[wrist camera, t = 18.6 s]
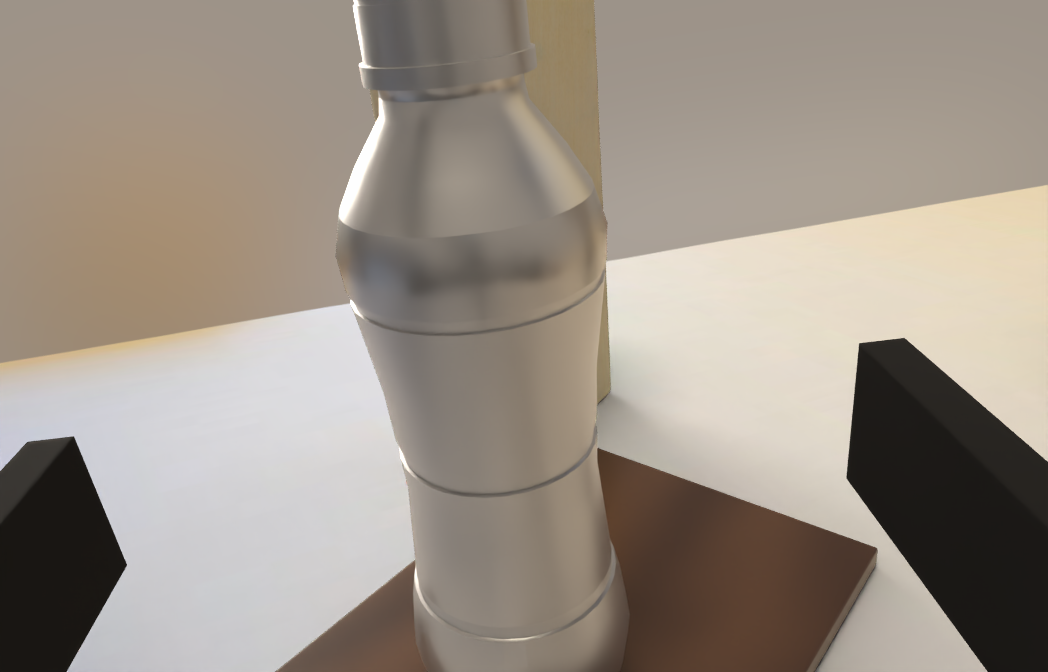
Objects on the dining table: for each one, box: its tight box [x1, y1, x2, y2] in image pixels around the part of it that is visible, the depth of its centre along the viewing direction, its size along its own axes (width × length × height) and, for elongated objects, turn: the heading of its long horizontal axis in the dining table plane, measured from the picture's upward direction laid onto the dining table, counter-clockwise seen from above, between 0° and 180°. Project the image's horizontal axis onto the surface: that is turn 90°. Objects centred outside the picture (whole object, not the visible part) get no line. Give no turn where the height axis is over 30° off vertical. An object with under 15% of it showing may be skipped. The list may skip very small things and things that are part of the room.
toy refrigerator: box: [370, 0, 611, 404], centre depth 37 cm, size 8×7×21 cm
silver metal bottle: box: [336, 0, 630, 672], centre depth 21 cm, size 6×7×20 cm
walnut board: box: [275, 448, 878, 672], centre depth 27 cm, size 14×17×1 cm
